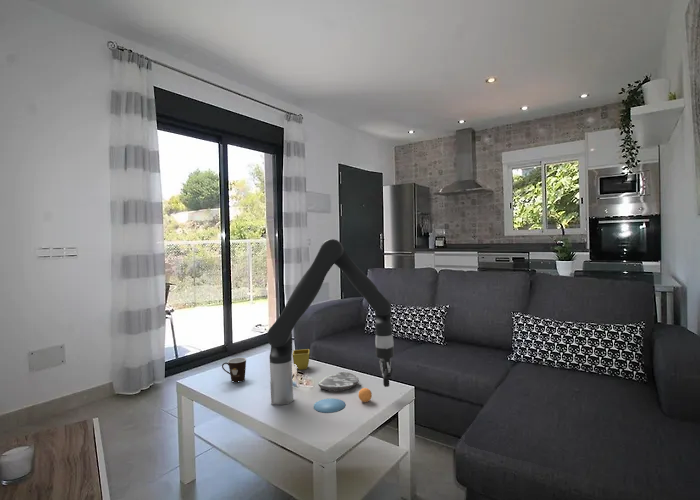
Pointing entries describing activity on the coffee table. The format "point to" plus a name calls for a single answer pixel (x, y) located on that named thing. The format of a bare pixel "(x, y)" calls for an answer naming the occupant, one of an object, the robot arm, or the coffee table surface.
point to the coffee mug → (236, 369)
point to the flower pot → (301, 358)
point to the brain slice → (338, 382)
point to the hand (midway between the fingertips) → (386, 386)
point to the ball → (365, 394)
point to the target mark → (329, 405)
